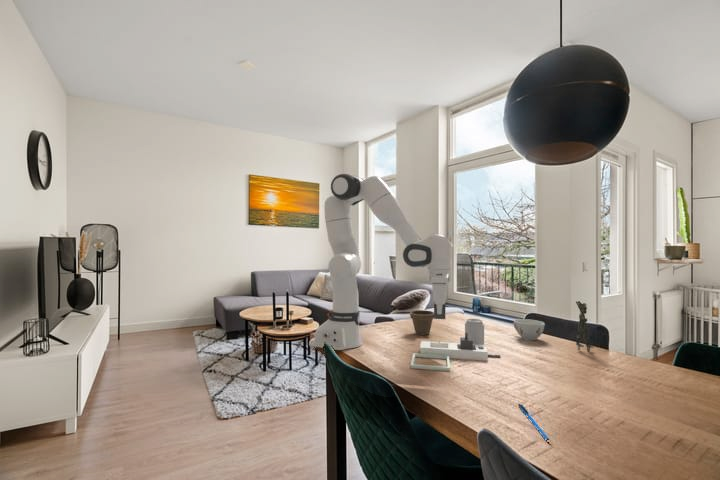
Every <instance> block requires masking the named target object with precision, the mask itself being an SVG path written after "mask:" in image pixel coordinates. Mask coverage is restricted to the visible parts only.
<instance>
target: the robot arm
mask: <svg viewBox="0 0 720 480" xmlns="http://www.w3.org/2000/svg"><path fill="white" fill-rule="evenodd" d="M330 183H331V184H330V190H331V193H332V195H330V196H329V197H327V198H326V199H325V201H324V221H325V227H326V232H327V239H328V243H329V245H330V247H331V250H332V252H333V257H331V259H330V260H329V262H328V272H329V276H330V277H329V278H330V284H331V290H332V308H331V310H330V311H329V312H328V313H327V317H328V319H327V320H326V321H324V322H323V323H322V324H321V325H320V326H318V327H317V328H316V331H315V333H314V337H312V338H311V339H310V340H309V343H308V345H309V347H314V348H321V349H324V348H323V346H324V342H327V343H329V344H331V345H332V346H333V348H334V349H333V350H335V351H343V350H348V349H353V348H354V349H355V348H359V347H361V346H362V345H363V342H362V338H361V333H360V332H361V330H360V321H361V313H360V310H359V303H360V302H359V296H360V295H359V289H358V282H357V280H358V279H357V275H358V273H359V272H360V271H361V269H362V261H361V257H360V254H359V250H358V246H357V242H356V240H355V239H356V238H355V235H354V234H355V233H354V229H353V228H354V227H353V223H352V217H351V210H350V208H351V206H355V205H357V204H359V203H361V202H362V201H364V202H365V203H366V205H368V207H369V209H370V210H371V212H372V213H373V215H374V216H375V217H376V218H377V219H378V220H379V221H380V222H382V223H383V224H385V225H387V226H389V227H390V228H391V229H393V230H394V231H395V232H396V233H397V235H398V236H399V237H400V239H401V240H402V242H403V243H404V245H405V248H404V250H403V252H402V258H403V261H404V262H405V264H406V265H408V266H409V267H412V268H424V267H427V281H428V282H430V285H431V288H432V296H433V304H434V303H435V304H437V314H442V304H444V303H445V304H446V295H447V287H448V285H449V283H450V282H452V266H451V259H452V246H451V242H450V241H451V240H450V238H449V237H448V236H445V235H443V234H435V233H431V234H429V235H428V236H426V237H425V238H423V239H421V238H420V237H419V236H418V234H417V232H415V230H414V229H413V227H412V225H411V224H410V223H409V221H408V219H407V218H406V216H405V213H404V211H403V210H402V207H401V205H400V203H399V201H398V199H397V197H396V196H395V194H394V193H393V191H392V190H391V188H390V187H389V186H388V185H387V183H386V182H385V181H383V179H381V178H380V176H377V175H373V176H369V177H367V178H366V179H363V178H361V177H359V176H357V175H353V174H348V173H341V174H338V175H336V176H334V177H333V178H332V180H331V182H330Z"/></svg>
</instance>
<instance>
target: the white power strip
mask: <svg viewBox="0 0 720 480" xmlns="http://www.w3.org/2000/svg"><path fill="white" fill-rule="evenodd" d="M419 354H432V355H446V356H449V359H462V360H476V361H488V359H489V358H494V359H501V354H489V353H488V350H487V347H486V345H485V344H484V345H476V344H473V350H464V349H460V342H459V343H457V342H445V341H444V342H441V341H427V340H421V341H420V347H419Z"/></svg>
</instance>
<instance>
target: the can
mask: <svg viewBox="0 0 720 480" xmlns="http://www.w3.org/2000/svg"><path fill="white" fill-rule="evenodd" d="M465 332H467V333H468V338H472V340H473V344H476V345H485V324H484V323H483V320H482V319H479V318H467V319H466V321H465V322H464V333H465Z"/></svg>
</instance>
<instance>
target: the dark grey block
mask: <svg viewBox="0 0 720 480" xmlns="http://www.w3.org/2000/svg"><path fill="white" fill-rule="evenodd" d="M433 312H434V320H446V302H445V303H444V304H442V314H437V304H435V303H434V302H433Z"/></svg>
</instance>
